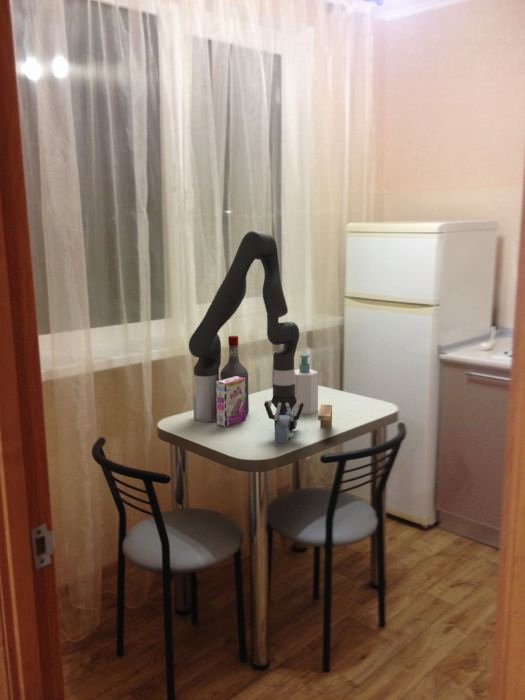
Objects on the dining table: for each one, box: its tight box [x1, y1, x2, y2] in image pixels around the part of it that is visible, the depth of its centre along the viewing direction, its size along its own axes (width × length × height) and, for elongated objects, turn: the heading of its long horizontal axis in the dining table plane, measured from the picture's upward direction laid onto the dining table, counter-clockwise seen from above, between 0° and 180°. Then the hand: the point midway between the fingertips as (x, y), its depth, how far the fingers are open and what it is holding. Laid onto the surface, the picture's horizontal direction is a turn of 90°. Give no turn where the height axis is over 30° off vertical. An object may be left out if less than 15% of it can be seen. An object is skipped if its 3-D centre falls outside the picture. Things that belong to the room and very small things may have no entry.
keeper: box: [317, 404, 333, 429], centre depth 222 cm, size 4×13×8 cm, turn 171°
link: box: [274, 410, 299, 442], centre depth 217 cm, size 20×7×4 cm, turn 171°
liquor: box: [219, 335, 250, 415], centre depth 242 cm, size 9×9×30 cm
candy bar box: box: [216, 376, 247, 428], centre depth 233 cm, size 11×5×16 cm, turn 141°
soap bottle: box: [292, 353, 319, 415], centre depth 246 cm, size 10×9×22 cm
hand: (284, 430), depth 217 cm, fingers closed on link, 4 cm apart
